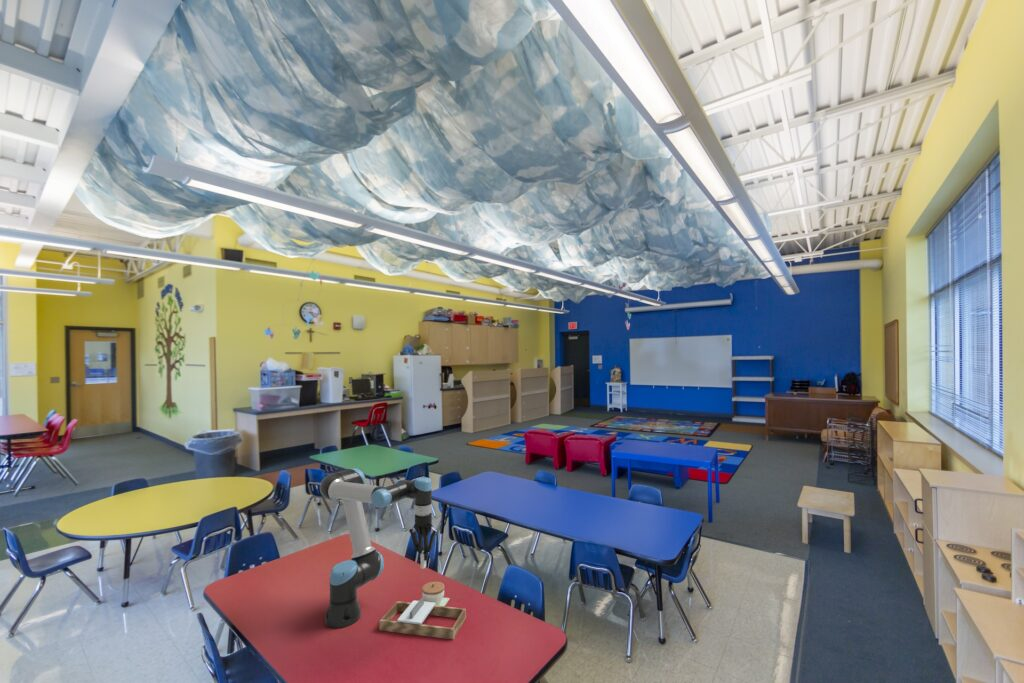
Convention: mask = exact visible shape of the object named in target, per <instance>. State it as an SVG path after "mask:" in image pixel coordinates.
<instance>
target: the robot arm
mask: <svg viewBox="0 0 1024 683" xmlns="http://www.w3.org/2000/svg"><path fill="white" fill-rule="evenodd" d="M432 489H433V487H432V480H431V478H430V477H425V476H424V477H423V476H421V477H416V478H415V480H414V481H413V480H407V479H397V480H396V481H395V482H393V484H392V485H388V486H379V485H372V484H367V482H366V476H365V474H364V473H363V471H362V470H360V469H359V468H356V467H355V468H354V467H353V468H347V469H345V470H341V471H337V472H333V473H330V474H328V475H326V476H325V477H323V479H322V480H321V481H320V485H319V492H320V494H321V496H322V498H324V499H327V500H331V501H337V500H338V501H339V502H341V503H342V504H343V505H342V506H343V509H344V514H345V519H346V525H347V528H348V533H349V539H350V543H351V547H352V555H351V556H350V559H347V560H345V561H344V560H343V561H341V562H338V563H337V564H335V565H334V566H333V567H332V569H330V572H329V603H328V607H327V611H326V613H325V620H324V622H325V625H326V626H328V628H333V629H338V628H344V627H348V626H350V625H352V624H354V623H356V622H358V621H359V620H360V619H361V616H362V610H361V607H360V604H359V601H358V589H359V588H362V587H363V586H364V585H366V584H368V583H370V582H371V581H374V580H376V578H378V577H379V576H380V575H382V572H383V571H384V568H385V567H384V565H385V561H384V557H383V555H382V554H381V552H380V551H377V549H376V547H374V546H372V542H371V537H370V533H369V528H368V524H367V523H368V522H367V518H366V514H365V510H364V506H363V503H367V504H372V505H373V506H374V507H375V508H376V509H380V508H386V507H388V506H389V505H392V504H394V503H397V502H400V501H402V500H404V499H411V500H414V525H413V527H411V528H410V529H409V530H408V532H409V533H410V536H411V540H412V544H413V545H412V546H413V548H414V551H415V552H418V560H419V561H420V569H422V570H423V569H425V568H426V567H427V561H428V560H429V559H428V558H429V553H430V552H431V551H432V550H433V548H434V542H435V537H436V535H437V532H438V529H437V528H436V529H435V528H434V526H433V522H432V519H433V518H432V517H433V515H432V512H433V510H432V508H433V507H432V503H433V502H432V497H433V496H432V494H433V493H432V492H433V491H432ZM429 535H430V537H429Z"/></svg>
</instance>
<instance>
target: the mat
mask: <svg viewBox="0 0 1024 683" xmlns="http://www.w3.org/2000/svg"><path fill="white" fill-rule="evenodd" d="M449 601H450V597H443V600H442V601H441V602H440V604H439V605H438V606H446V605H447V604H448V602H449Z"/></svg>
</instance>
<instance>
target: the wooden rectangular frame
mask: <svg viewBox="0 0 1024 683" xmlns="http://www.w3.org/2000/svg"><path fill="white" fill-rule="evenodd" d="M411 603H412V602H408V601H399V600H397V601H396V602H395V603H394V604H393V605H392V606H391V607H390V609H388V611H387V612H385V614H384V615H383V616H382V617H381V619H380V620H379V631H382V632H383V631H384V632H391V633H399V634H406V635H416V636H423V637H432V638H439V639H447V640H455V638H456V636H457V634H458V633H459V631H460V629H461V627H462V625H463V624H464V622H465V620H466V619H467V611H466V610H467V609H466V608H463V607H462V608H461V607H455V606H453V607H452V606H446V605H445V606H437V605H435V606H434V607H433V609H432V610H431V612H430V613H429V614H428V616H435V617H436V616H437V617H445V618H451V619H453V618H454V619H456V621H455V623H454V624H453V626H452V627H449V626H447V627H446V626H441V625H440V626H439V625H432V624H431V625H429V624H425V623H424V624H423V623H422V624H421V625H420V624H411V623H403V622H397V620H392V619H393V618H394V616H396V614H397V613H398V612H399V613H400V612H402V613H403V612H404V611H405V610H406V609H407V608H408V606H409V605H410V604H411Z"/></svg>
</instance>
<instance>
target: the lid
mask: <svg viewBox="0 0 1024 683" xmlns="http://www.w3.org/2000/svg"><path fill="white" fill-rule="evenodd" d="M410 603H411V604H410V605H409V606H408V608H407V609H406V610H405V611H404V612H402V613H401V614H400V616H399V617H398V618H397V620H396V621H397V622H403V623H411V624H420V625H421V624H423V623H424V622H425V620H426V618H427V617H428V616H429V615H428V614H429V613H430V612H431V610H432V609H433V607H434V606H435V605H436V603H434V602H424V598H423V597H421V598H420V599H419V600H414V599H413V600H412V602H410Z"/></svg>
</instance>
